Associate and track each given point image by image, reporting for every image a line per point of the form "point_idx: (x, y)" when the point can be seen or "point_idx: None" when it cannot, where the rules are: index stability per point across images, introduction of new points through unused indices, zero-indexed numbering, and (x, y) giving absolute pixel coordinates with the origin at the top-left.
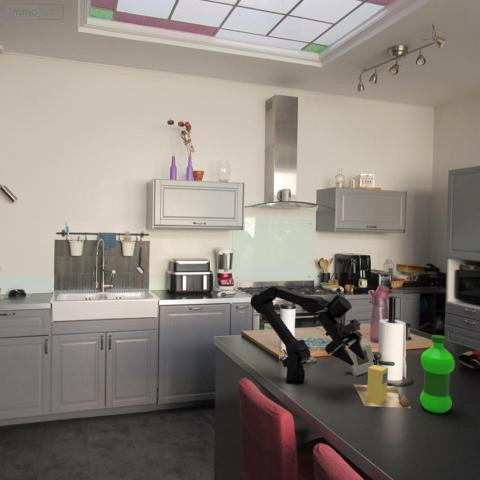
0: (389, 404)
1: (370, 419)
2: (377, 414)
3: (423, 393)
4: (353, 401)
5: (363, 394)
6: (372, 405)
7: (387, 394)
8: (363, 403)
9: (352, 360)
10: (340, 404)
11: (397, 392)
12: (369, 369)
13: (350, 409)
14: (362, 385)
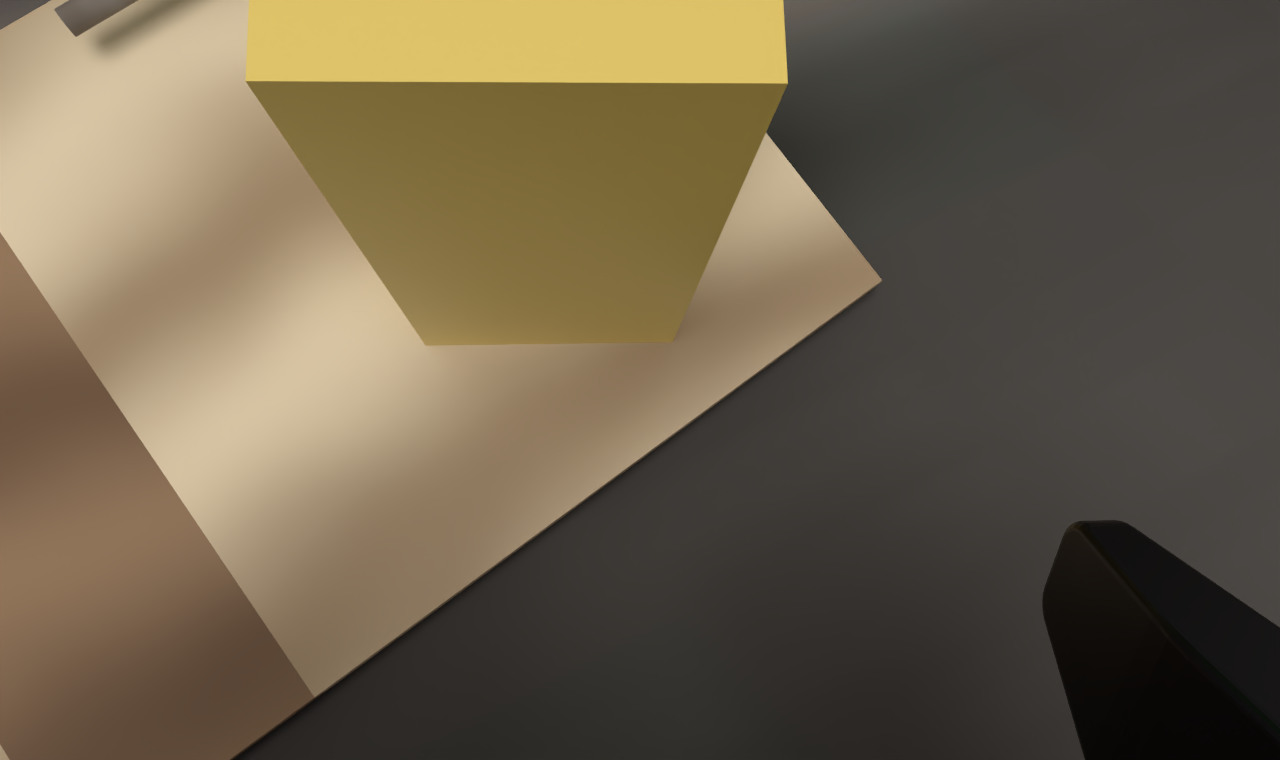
0: None
1: (1168, 67)
2: (943, 64)
3: None
4: (735, 552)
5: (409, 525)
6: (782, 197)
7: (120, 212)
8: (797, 341)
9: (1166, 616)
10: (1007, 647)
11: (70, 23)
12: (775, 54)
13: (1067, 429)
14: None
